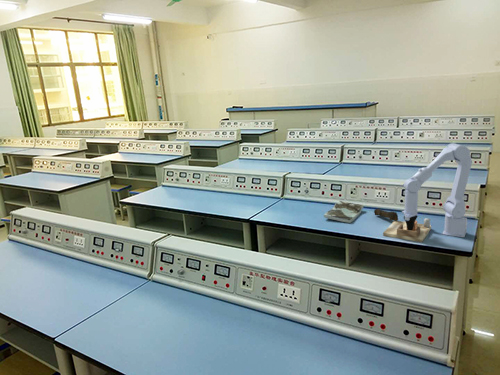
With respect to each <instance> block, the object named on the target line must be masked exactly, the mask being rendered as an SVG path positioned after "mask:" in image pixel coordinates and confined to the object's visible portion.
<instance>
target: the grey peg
mask: <svg viewBox="0 0 500 375" xmlns="http://www.w3.org/2000/svg"><path fill="white" fill-rule="evenodd" d="M423 224H424V227H426V228H429V227H430V225H431V219H430V218H427V217H426V218H424V219H423Z"/></svg>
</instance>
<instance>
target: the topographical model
mask: <svg viewBox="0 0 500 375" xmlns="http://www.w3.org/2000/svg"><path fill="white" fill-rule="evenodd" d="M363 209H364V205H363V204H359V203H353V202H347V201H342V200H337V201H336V202H335V204H334V206H333V207H332V208H331V209H329V210H327V211H326V212H325V213H324V214H323V218H325V219H328V220H329V219H330V220H334V221H338V222H343V223H348V224H351V223H352V222H353V221H355V220H356V218H358V217H359V216H360V215H361V214H362V211H363Z"/></svg>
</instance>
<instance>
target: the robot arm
mask: <svg viewBox="0 0 500 375" xmlns="http://www.w3.org/2000/svg"><path fill="white" fill-rule="evenodd" d="M447 161H455V162H456V164H457V168H456V172H455V176H454V180H453V183H452V188H451V192H450V195H449V196H448V197H447V198H446V201H445V202H444V203H443V206H442V207H443V211H444V212H445V215H444V230H443V231H442V234H441V235H445V236H451V237H458V238H465V236H466V234H467V229H468V228H467V227H468V225H467V224H468V217H465V214H466V208H465V207H466V202H465V200H464V196H465V191H466V188H467V184H468V179H469V176H470V173H471V169H472V168H471V167H472V164H473V160H472V157H471V150H470V149H469V148H468V147H467V146H466V145H461V144H458V143H455V142H451V143H449V144H447V145H446V147H443V149H442V151H441V152H440V153H439V154H438V155H437V156H436V157H435V158H434V159H433V160H432V161H431V162H430V163H429V164H428V165H427V166H426V167H421V168H419V169H417V170H418V171H417V172H416V173H415V174H414V175H413V176H412V175H411V176H410V178H408V179H406V180H405V181H404V183H403V189H405V190H404V210H402V211H401V213H402V214H404V216H403V219H404V222H406V225H407V229H408V230H413V227H414V223H415V221H417V218H418V207H419V206H418V204H419V203H418V202H419V200H418V199H419V191H420V190H421V188H422V186H423V184H424V183H425V182H427V181H428V180H429V179H430V178H431V177H432V176H433V172H434V171H435V170H437V169H438V168H439V167H440V166H441V165H443V164H444V163H446V162H447Z"/></svg>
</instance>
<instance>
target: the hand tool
mask: <svg viewBox="0 0 500 375" xmlns="http://www.w3.org/2000/svg"><path fill="white" fill-rule="evenodd" d="M373 213H374V215H375V216H380V217H383V218H387V219H389V220H390V221H393V222H394V221H399V216H398V213H397V212H396V211H387V210H383V209H380V208H375V209H374V210H373Z"/></svg>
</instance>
